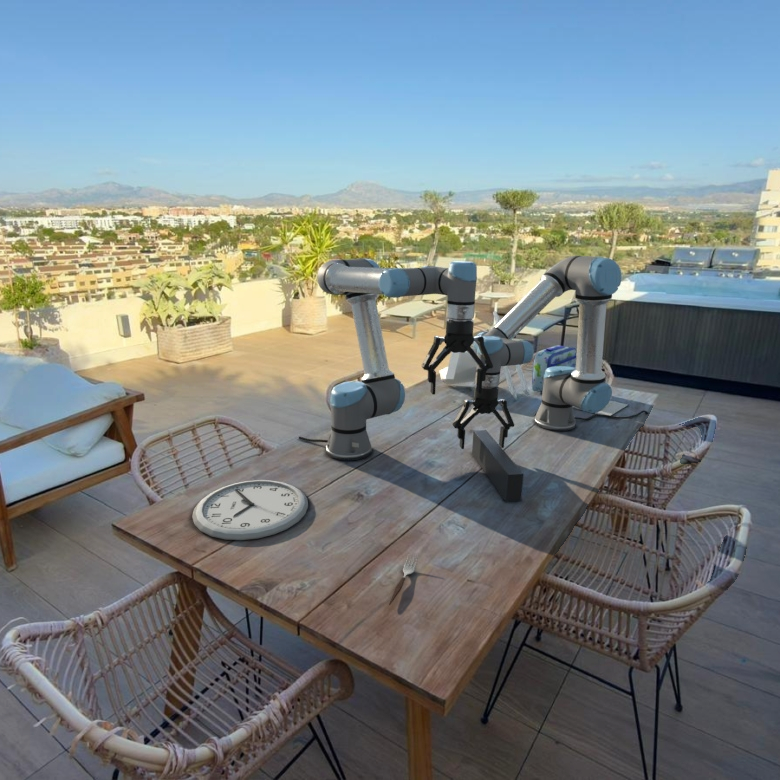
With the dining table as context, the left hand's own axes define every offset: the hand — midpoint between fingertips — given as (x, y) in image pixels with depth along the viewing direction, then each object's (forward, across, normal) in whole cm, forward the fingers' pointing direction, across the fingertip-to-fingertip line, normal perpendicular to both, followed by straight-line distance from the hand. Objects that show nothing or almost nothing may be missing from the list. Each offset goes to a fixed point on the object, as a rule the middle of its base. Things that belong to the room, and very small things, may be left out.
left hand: (455, 392), depth 151 cm
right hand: (+24, +14, +14) cm, 31 cm away
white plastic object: (+28, +36, +84) cm, 95 cm away
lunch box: (+28, +71, +84) cm, 114 cm away
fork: (+28, -23, -46) cm, 58 cm away
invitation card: (+28, +82, +59) cm, 105 cm away
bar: (+28, +14, +1) cm, 31 cm away
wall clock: (+28, -58, -11) cm, 65 cm away
